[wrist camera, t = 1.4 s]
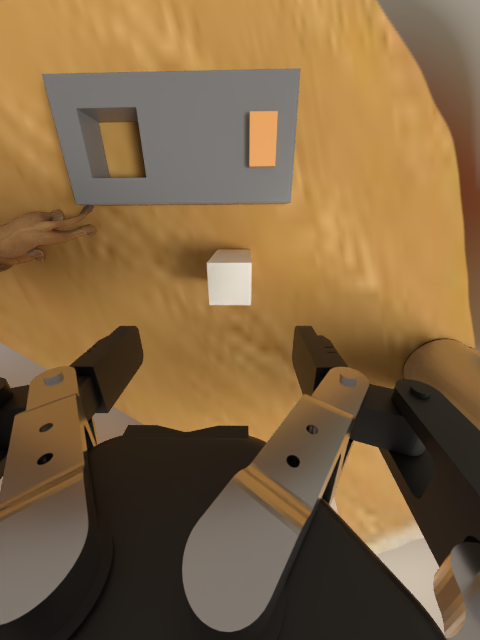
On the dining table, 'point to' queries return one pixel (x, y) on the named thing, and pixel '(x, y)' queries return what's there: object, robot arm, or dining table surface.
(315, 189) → the dining table surface
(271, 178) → the grey board with slot
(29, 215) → the lion figurine
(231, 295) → the white rectangular block
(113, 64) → the dining table surface
